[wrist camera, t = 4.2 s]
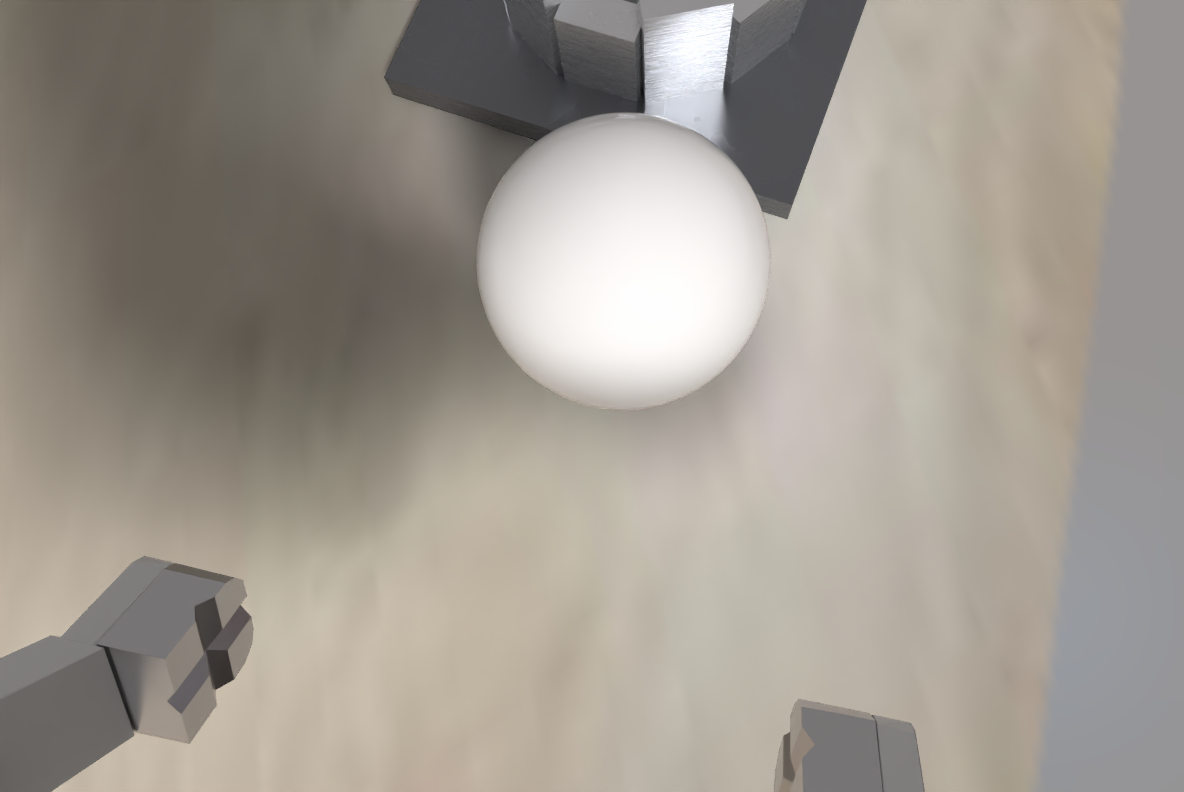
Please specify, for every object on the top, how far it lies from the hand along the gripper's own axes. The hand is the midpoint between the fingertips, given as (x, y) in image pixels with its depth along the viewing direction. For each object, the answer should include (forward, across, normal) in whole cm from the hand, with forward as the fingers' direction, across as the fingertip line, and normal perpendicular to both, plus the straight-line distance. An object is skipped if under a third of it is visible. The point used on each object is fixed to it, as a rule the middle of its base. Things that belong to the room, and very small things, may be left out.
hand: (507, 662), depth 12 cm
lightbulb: (+15, 0, +3) cm, 15 cm away
